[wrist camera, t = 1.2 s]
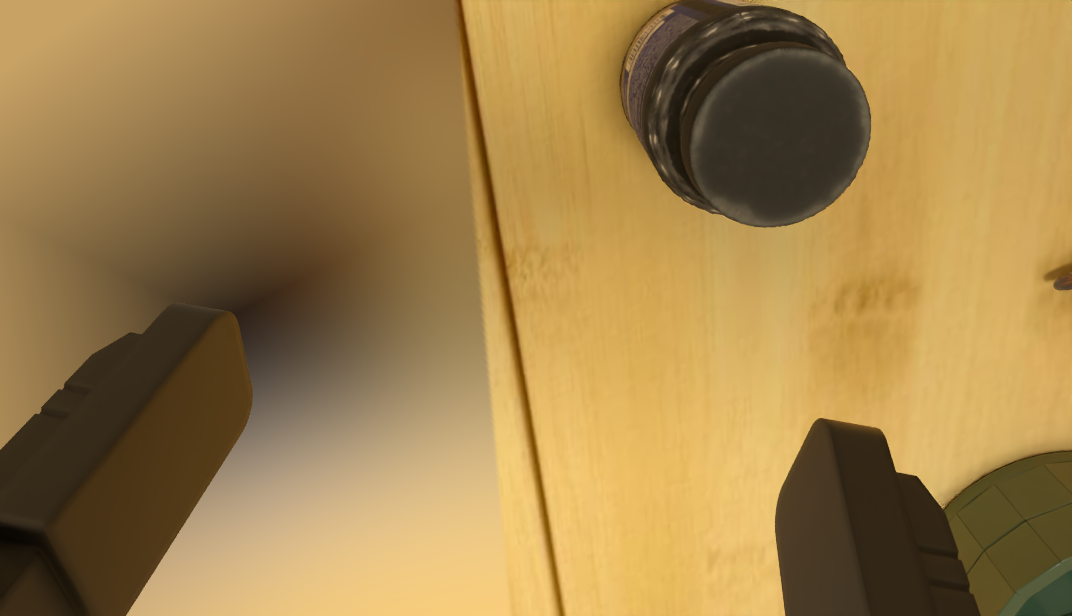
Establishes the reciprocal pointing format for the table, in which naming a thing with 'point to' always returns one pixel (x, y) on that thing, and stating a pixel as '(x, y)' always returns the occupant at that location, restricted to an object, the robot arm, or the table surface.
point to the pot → (1018, 537)
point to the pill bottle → (745, 110)
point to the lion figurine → (1064, 282)
